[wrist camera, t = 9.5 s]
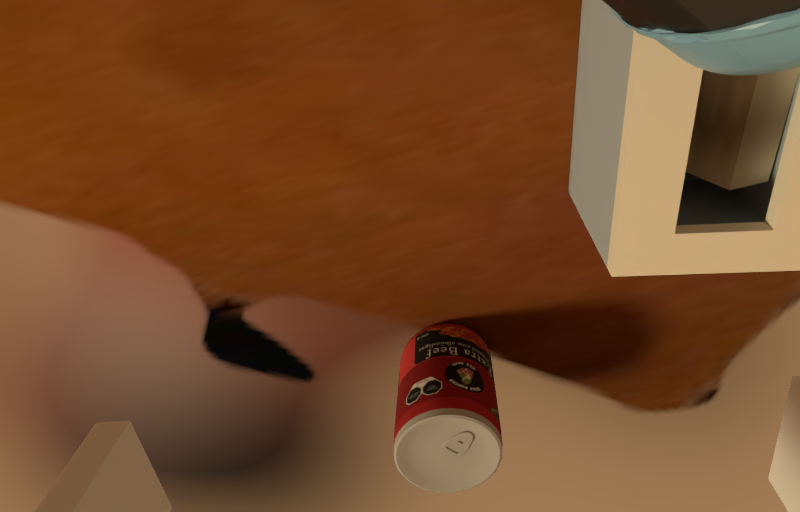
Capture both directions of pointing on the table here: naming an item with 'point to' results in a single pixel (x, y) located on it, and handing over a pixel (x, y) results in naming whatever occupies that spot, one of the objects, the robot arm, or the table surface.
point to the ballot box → (667, 166)
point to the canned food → (447, 411)
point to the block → (739, 126)
